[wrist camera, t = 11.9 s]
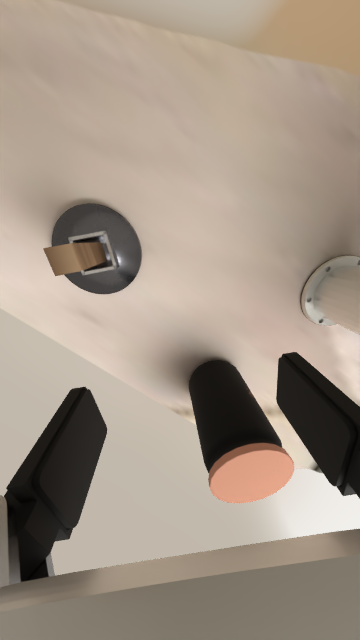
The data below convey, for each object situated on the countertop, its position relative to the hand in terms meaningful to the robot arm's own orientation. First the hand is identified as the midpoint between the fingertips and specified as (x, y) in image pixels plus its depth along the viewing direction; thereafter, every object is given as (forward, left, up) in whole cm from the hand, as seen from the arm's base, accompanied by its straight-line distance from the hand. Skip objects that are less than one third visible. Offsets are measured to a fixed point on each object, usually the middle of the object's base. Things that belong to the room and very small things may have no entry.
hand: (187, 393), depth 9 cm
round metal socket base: (+9, -7, -23) cm, 26 cm away
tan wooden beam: (+9, -7, -22) cm, 25 cm away
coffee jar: (-5, +21, -24) cm, 32 cm away
